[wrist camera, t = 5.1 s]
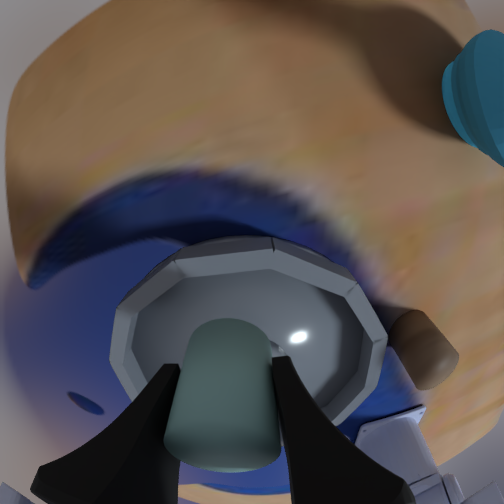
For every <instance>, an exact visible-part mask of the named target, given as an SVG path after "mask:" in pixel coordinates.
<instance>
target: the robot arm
mask: <svg viewBox="0 0 504 504" xmlns="http://www.w3.org/2000/svg"><path fill="white" fill-rule="evenodd" d="M272 368H273V378H274V387H275V392H276V398H277V408H278V419H279V424H280V428H281V433H282V438H283V443H284V448H285V452H286V457H287V463H288V469H289V479H290V491H291V501H292V504H504V499H503V497H502V494H501V492H500V490H499V488H498V485H497V483H496V481H493V482H491V483H490V484H489V485H487V486H486V487H484V488H483V489H481V490H480V491H478V492H477V493H475V494H473V495H472V496H471V497H469V498H467V499H466V500H465V498H464V496H463V493H462V491H461V488H460V486H459V484H458V482H457V480H456V478H455V476H454V475H453V474H448V473H447V474H445V475H444V476H442V475H441V474H440V473H439V471H438V468H437V466H436V464H435V461H434V459H433V457H432V455H431V452H430V450H429V448H428V446H427V443H426V441H425V439H424V437H423V435H422V433H421V431H420V428H419V426H418V423H419V421H420V419H421V418H422V416H423V414H424V412H425V410H426V407H425V405H423V406H420V407H418V408H415V409H412V410H409V411H406V412H403V413H400V414H397V415H394V416H391V417H387V418H384V419H381V420H377V421H374V422H370V423H366V424H363V425H362V426H361V427H360V430H359V433H358V436H357V439H356V442H355V445H354V444H353V443H352V442H351V441H350V440H349V439H348V438H347V437H346V436H344V435H343V434H342V433H341V432H340V431H339V430H338V428H337V427H336V426H335V425H334V424H333V423H332V422H331V421H330V420H329V419H328V417H327V416H326V415H325V414H324V412H323V411H322V410H321V409H320V407H319V406H318V405H317V403H316V402H315V401H314V399H313V398H312V396H311V395H310V393H309V392H308V390H307V389H306V387H305V386H304V384H303V382H302V381H301V379H300V377H299V375H298V373H297V371H296V369H295V367H294V365H293V362H292V360H291V357H289V356H288V355H287V356H279V357H272ZM180 372H181V370H180V367H179V364H178V363H169V364H163V365H162V367H161V368H160V369H159V370H158V371H157V373H156V374H155V375H154V376H153V378H152V379H151V380H150V381H149V383H148V384H147V385H146V386H145V387H144V389H143V390H142V391H141V392H140V393H139V395H138V396H137V397H136V398H135V399H134V400H133V402H132V403H131V404H130V405H129V406H128V407H127V408H126V409H125V410H124V411H123V412H122V413H121V414H120V415H119V417H117V418H116V419H115V420H114V421H113V422H112V423H111V424H110V425H109V426H108V427H106V428H105V429H104V430H103V431H102V432H101V433H99V434H98V435H97V436H95V437H94V438H92V439H91V440H90V441H88V442H87V443H85V444H84V445H82V446H81V447H79V448H78V449H76V450H74V451H73V452H71V453H69V454H67V455H65V456H63V457H61V458H59V459H57V460H55V461H52V462H50V463H47V464H45V465H42V466H40V467H39V469H38V471H37V474H36V476H35V478H34V480H33V483H32V485H31V488H30V490H31V492H32V493H33V494H34V495H36V496H37V497H38V498H40V499H41V500H43V501H44V502H46V503H48V504H177V503H178V479H179V467H180V461H181V460H179V459H177V458H176V457H174V456H173V455H172V454H171V453H170V452H169V451H168V450H167V449H166V447H165V445H164V440H163V439H164V435H165V431H166V427H167V423H168V419H169V415H170V411H171V407H172V403H173V399H174V395H175V391H176V387H177V383H178V380H179V376H180ZM0 504H34V503H33V502H31V501H30V500H29V499H27V498H26V497H24V496H23V495H21V494H20V493H19V492H17V491H16V490H14V489H13V488H11V487H10V486H8V485H7V484H5V483H4V482H2V484H1V486H0Z"/></svg>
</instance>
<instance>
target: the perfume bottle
mask: <svg viewBox="0 0 504 504" xmlns="http://www.w3.org/2000/svg"><path fill="white" fill-rule="evenodd" d="M442 95H443V100H444V105H445V108H446V111H447V114H448V116H449V119H450V121H451V123H452V125H453V126H454V128H455V130H456V131H457V133H458V134H459V135H460V137H461V138H462V139H463V140H464V141H465V142H467V143H468V144H470V145H471V146H473V147H476V148H478V149H479V150H481V151H482V152H483V153H485V154H487V155H489V156H490V157H491V158H492V159H493V160H494V161H496V162H497V163H498V164H500V165H501V166H503V167H504V34H503V33H501V32H499V31H495V30H486V31H483V32H481V33H479V34H477V35H476V36H474V37H473V38H472V39H471V40H470V41H469V42H468V43H467V44H466V45H465V47H464V49H463V50H462V52H461V53H460V54H458V55H457V57H456V59H455V60H454V61H453V62H451V63H450V64H449V65H448V66H447V67H446V69H445V71H444V74H443V78H442Z"/></svg>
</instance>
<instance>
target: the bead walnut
mask: <svg viewBox="0 0 504 504" xmlns="http://www.w3.org/2000/svg"><path fill="white" fill-rule="evenodd" d="M389 342H390V344H391V346H392V347H393V349H394V350H395V352H396V354H397V355H398V357H399V359H400V360H401V362H402V364H403V365H404V367H405V369H406V370H407V372H408V374H409V376H410V377H411V379H412V381H413V383H414V384H415V386H416V388H417V389H419V390H428V389H431V388H434V387H435V386H437V385H439V384H440V383H442V382H443V381H444V380H445V379H446V378H447V377H448V376H449V375H450V374H451V373H452V372H453V370H454V369H455V367H456V365H457V363H458V360H459V354H458V352H457V351H456V350H455V349H454V347H453V346H452V345H451V344H450V342H449V341H448V340H447V339H446V338H445V336H444V335H443V334H442V333H441V332H440V330H439V329H438V328H437V327H436V326H435V325H434V323H433V322H432V321H431V320H430V319H429V318H428V317H427V315H426V314H425V313H424V312H422V311H420V310H413V311H409V312H407V313H405V314H404V315H402V316H401V317H400V318H399V319H397V321H396V322H395V323H394V324H393V326H392V327H391V329H390V332H389Z"/></svg>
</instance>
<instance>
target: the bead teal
mask: <svg viewBox="0 0 504 504" xmlns="http://www.w3.org/2000/svg"><path fill="white" fill-rule="evenodd" d="M163 440H164V445H165V447H166V449H167V450H168V451H169V452H170V453H171V454H172V455H173V456H174V457H176V458H177V459H179V460H181V461H182V462H184V463H187V464H189V465H192V466H194V467H198V468H201V469H205V470H210V471H218V472H244V471H251V470H255V469H259V468H262V467H264V466H267V465H269V464H271V463H272V462H274V461H275V460H276V459H277V458H278V457H279V456H280V453H281V440H280V429H279V419H278V408H277V398H276V392H275V387H274V378H273V368H272V348H271V344H270V341H269V339H268V337H267V336H266V334H265V333H264V332H263V331H262V330H261V329H259V328H258V327H257V326H255V325H253V324H251V323H249V322H247V321H243V320H240V319H234V318H220V319H215V320H211V321H208V322H206V323H204V324H202V325H201V326H199V327H198V328H197V329H196V330H195V331H194V332H193V333H192V335H191V337H190V339H189V343H188V346H187V350H186V354H185V357H184V361H183V365H182V368H181V372H180V376H179V380H178V383H177V387H176V391H175V395H174V399H173V403H172V407H171V411H170V415H169V419H168V423H167V427H166V431H165V435H164V439H163Z"/></svg>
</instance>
